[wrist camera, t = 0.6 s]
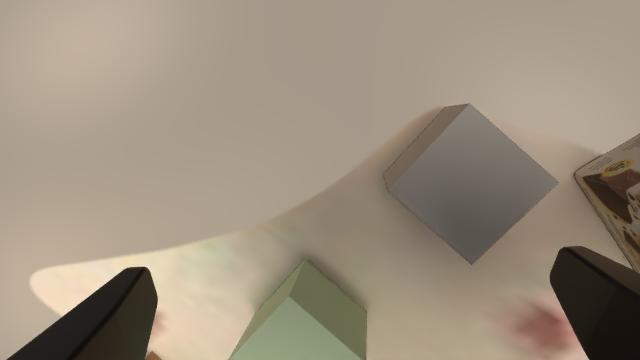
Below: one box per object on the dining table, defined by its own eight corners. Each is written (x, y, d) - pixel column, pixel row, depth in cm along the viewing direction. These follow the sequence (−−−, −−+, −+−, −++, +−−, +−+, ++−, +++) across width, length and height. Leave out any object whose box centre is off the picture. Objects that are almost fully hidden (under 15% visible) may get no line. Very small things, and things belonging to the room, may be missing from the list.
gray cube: (513, 166, 20) (558, 182, 15) (448, 231, 21) (471, 264, 16) (445, 106, 20) (469, 103, 15) (383, 174, 21) (387, 191, 16)
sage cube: (366, 311, 23) (366, 363, 18) (314, 362, 24) (300, 425, 19) (305, 258, 23) (288, 296, 18) (256, 311, 24) (227, 361, 19)
